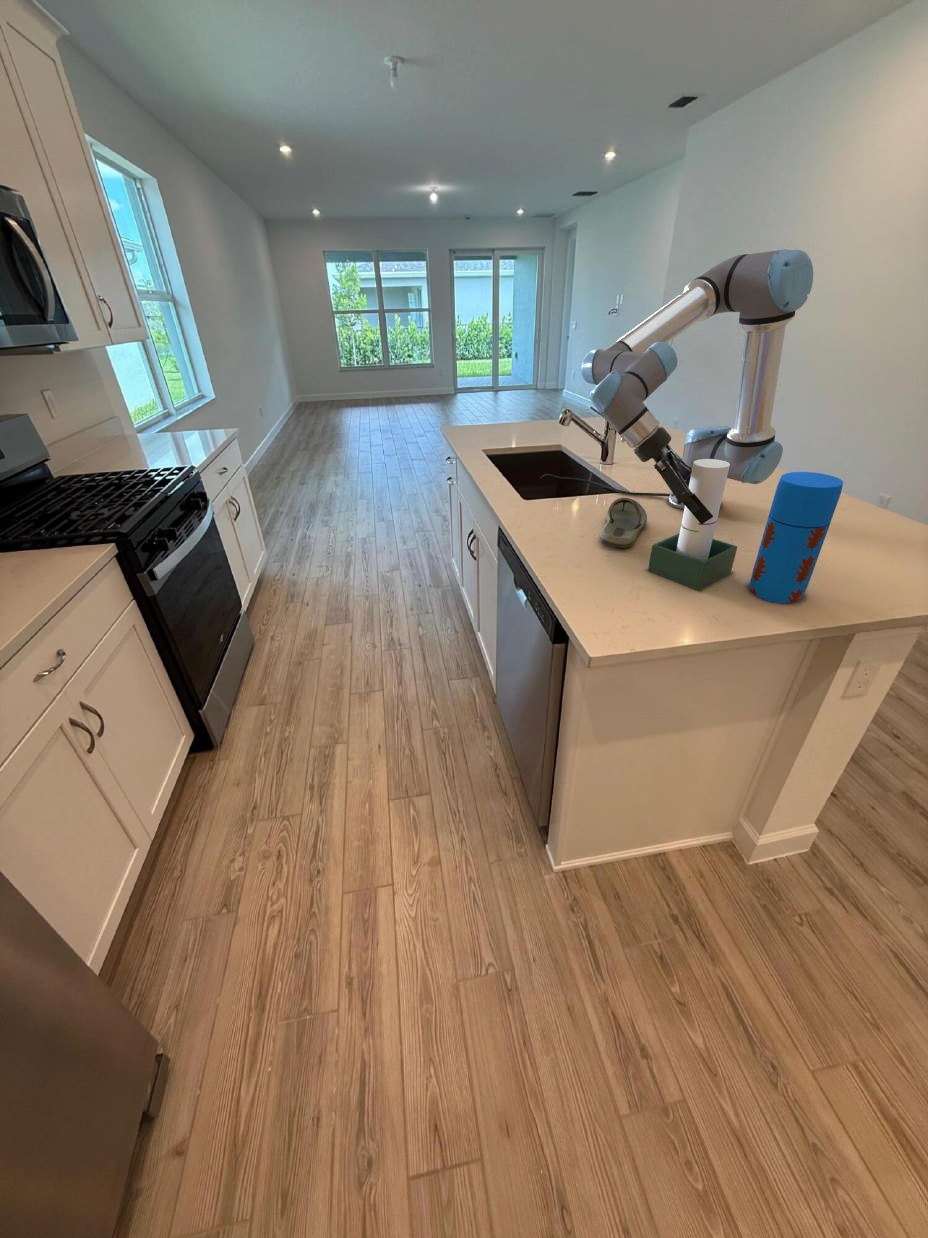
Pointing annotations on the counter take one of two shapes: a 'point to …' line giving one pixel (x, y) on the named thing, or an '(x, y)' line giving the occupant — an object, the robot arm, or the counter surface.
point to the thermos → (794, 535)
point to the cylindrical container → (709, 490)
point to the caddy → (691, 563)
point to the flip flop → (623, 523)
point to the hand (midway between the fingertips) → (707, 509)
